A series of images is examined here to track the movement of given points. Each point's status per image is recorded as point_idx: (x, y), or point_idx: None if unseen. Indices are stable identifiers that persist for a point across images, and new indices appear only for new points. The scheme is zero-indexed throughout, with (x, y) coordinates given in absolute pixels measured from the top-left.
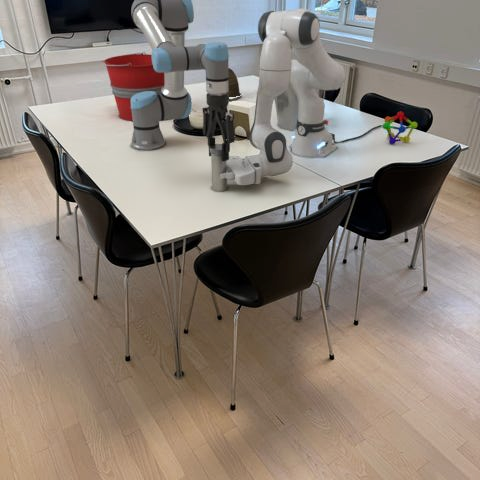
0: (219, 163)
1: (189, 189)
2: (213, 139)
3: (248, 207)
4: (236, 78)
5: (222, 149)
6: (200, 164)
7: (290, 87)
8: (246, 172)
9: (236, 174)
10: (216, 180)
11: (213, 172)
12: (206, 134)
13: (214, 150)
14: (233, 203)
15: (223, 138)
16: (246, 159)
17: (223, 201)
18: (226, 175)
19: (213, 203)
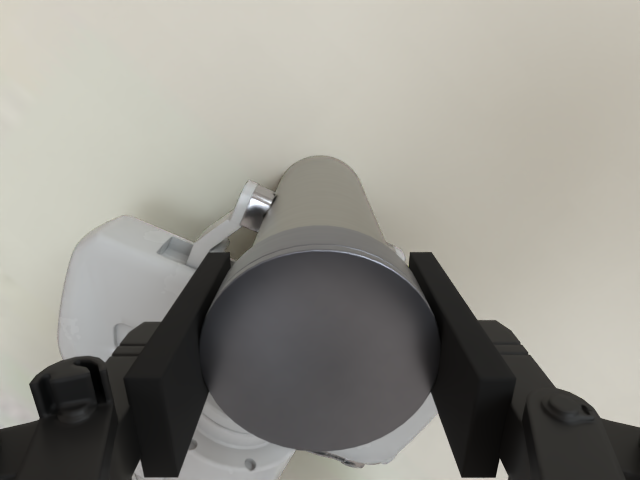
0: (262, 230)
1: (446, 47)
2: (459, 428)
3: (14, 139)
4: None
5: (182, 320)
6: (628, 336)
7: None
8: (103, 320)
9: (124, 250)
10: (298, 173)
11: (321, 180)
12: (630, 447)
13: (279, 250)
14: (106, 113)
15: (72, 473)
16: (244, 448)
17: (163, 87)
18: (221, 220)
19: (180, 18)
